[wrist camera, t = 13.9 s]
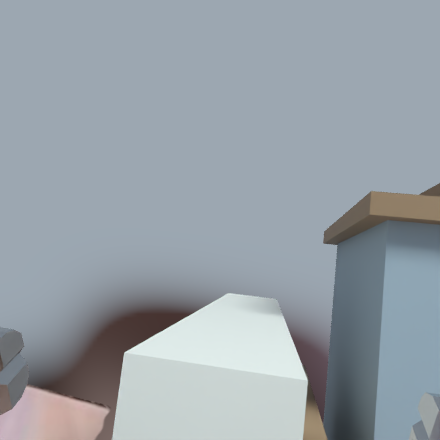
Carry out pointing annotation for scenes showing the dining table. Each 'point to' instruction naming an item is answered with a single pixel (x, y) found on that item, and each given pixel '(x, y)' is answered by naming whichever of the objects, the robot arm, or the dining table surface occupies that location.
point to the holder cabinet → (384, 316)
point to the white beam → (215, 377)
